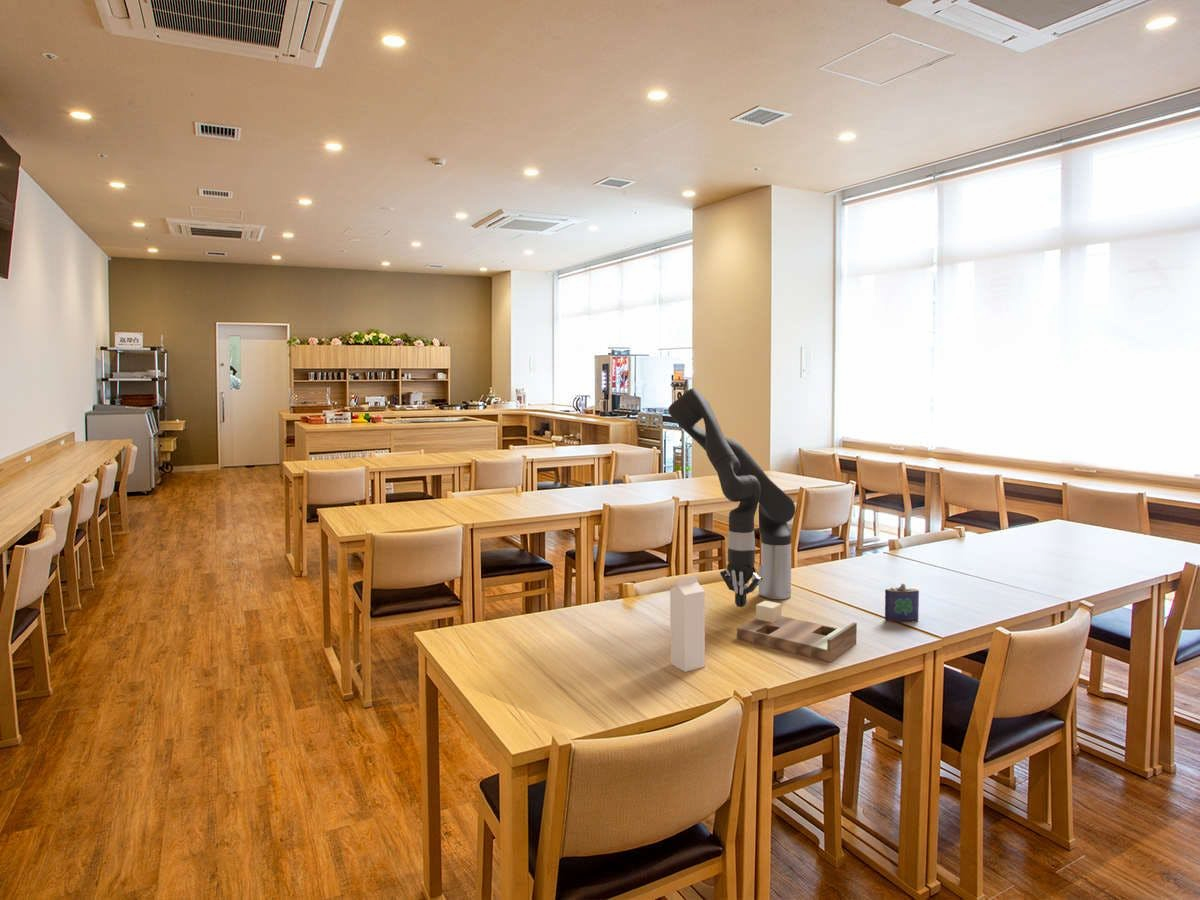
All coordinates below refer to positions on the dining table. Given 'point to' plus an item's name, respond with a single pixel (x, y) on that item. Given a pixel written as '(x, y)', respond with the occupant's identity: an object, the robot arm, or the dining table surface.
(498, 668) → the dining table surface
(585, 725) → the dining table surface
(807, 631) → the board
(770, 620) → the block
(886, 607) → the flask
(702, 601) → the milk
